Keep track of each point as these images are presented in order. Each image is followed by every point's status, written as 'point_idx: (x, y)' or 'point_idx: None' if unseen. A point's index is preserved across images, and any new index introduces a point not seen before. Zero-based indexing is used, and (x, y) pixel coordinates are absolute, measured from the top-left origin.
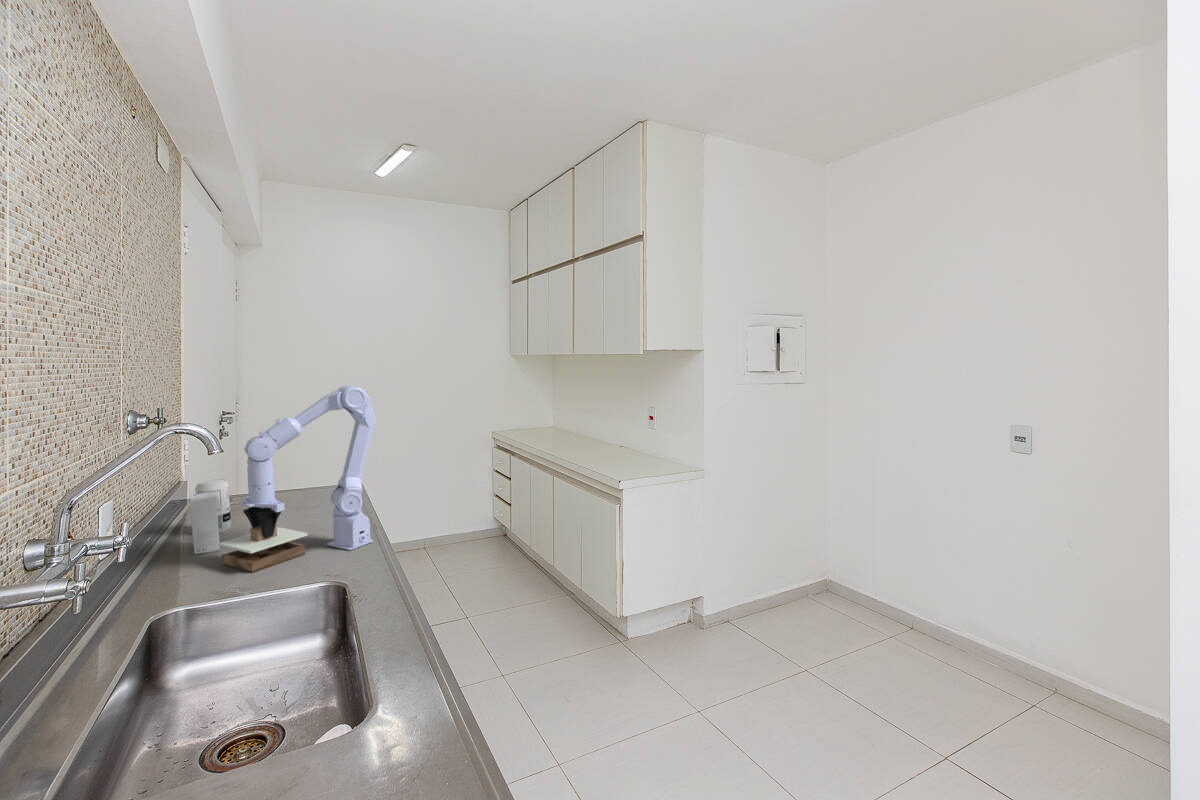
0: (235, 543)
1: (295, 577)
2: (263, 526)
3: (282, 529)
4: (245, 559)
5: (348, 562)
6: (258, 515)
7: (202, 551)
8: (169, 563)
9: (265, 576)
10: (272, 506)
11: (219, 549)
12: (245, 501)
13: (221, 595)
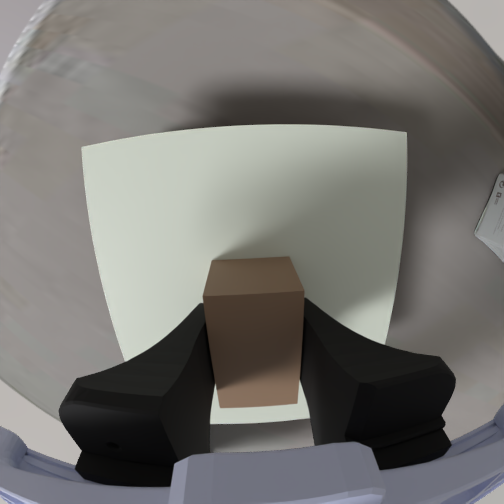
0: (311, 171)
1: (9, 221)
2: (169, 337)
3: (301, 410)
4: None
5: (28, 353)
6: (141, 387)
7: (495, 191)
8: (490, 96)
9: (71, 167)
10: (2, 470)
11: (476, 233)
12: (492, 462)
13: (58, 25)
